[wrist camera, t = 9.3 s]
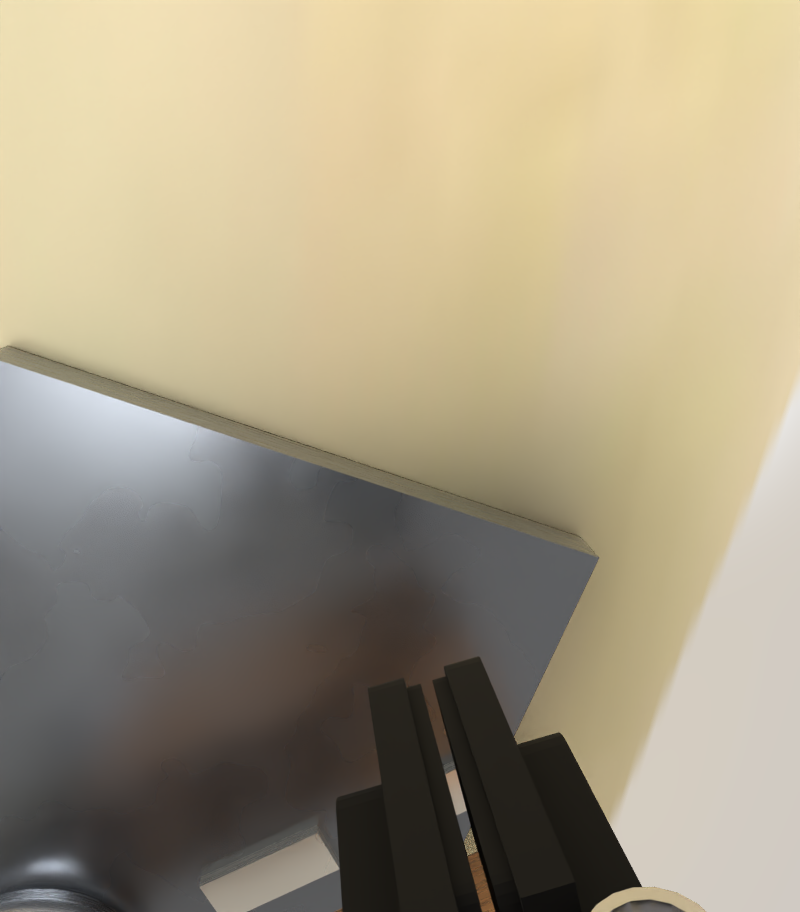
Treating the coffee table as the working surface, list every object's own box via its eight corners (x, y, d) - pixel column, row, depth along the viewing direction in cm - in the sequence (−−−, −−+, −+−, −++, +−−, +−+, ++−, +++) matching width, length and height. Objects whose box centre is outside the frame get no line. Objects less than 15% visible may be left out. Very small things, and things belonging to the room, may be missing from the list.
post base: (312, 1138, 22) (315, 1353, 18) (-184, 1077, 19) (-320, 1315, 15) (594, 541, 18) (688, 639, 14) (7, 345, 15) (-109, 391, 11)
